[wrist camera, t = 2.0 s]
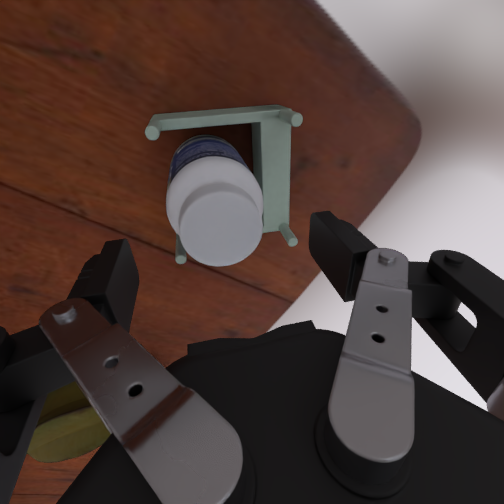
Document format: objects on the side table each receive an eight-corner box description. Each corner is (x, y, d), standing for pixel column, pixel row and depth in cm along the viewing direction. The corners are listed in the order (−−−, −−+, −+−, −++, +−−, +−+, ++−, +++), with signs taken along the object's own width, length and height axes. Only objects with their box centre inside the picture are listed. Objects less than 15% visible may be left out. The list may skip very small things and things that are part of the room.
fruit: (31, 347, 26) (-8, 418, 21) (162, 357, 31) (158, 418, 25) (28, 417, 31) (-4, 489, 26) (141, 417, 36) (134, 480, 30)
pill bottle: (156, 150, 20) (137, 203, 12) (227, 121, 20) (258, 155, 12) (189, 215, 23) (193, 293, 15) (251, 190, 23) (289, 254, 15)
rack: (177, 228, 23) (176, 265, 19) (152, 113, 19) (143, 126, 14) (278, 214, 24) (299, 245, 20) (278, 103, 20) (305, 112, 15)
